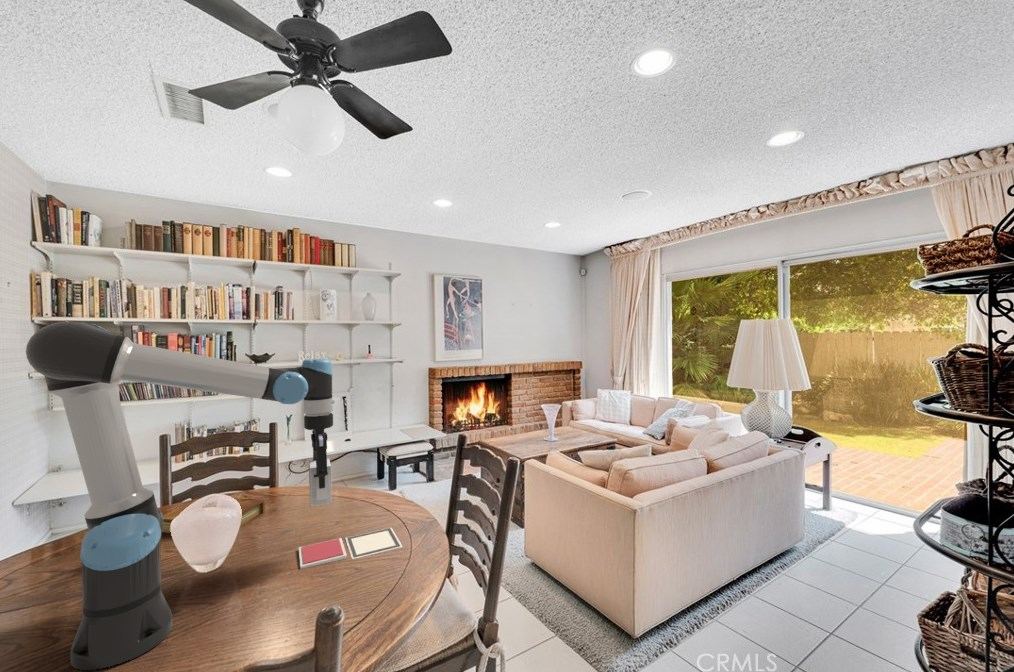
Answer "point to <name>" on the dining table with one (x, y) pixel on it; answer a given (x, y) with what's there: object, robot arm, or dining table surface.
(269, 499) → the dining table surface
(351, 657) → the dining table surface
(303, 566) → the ink pad
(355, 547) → the card
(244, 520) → the diary
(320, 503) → the small box
